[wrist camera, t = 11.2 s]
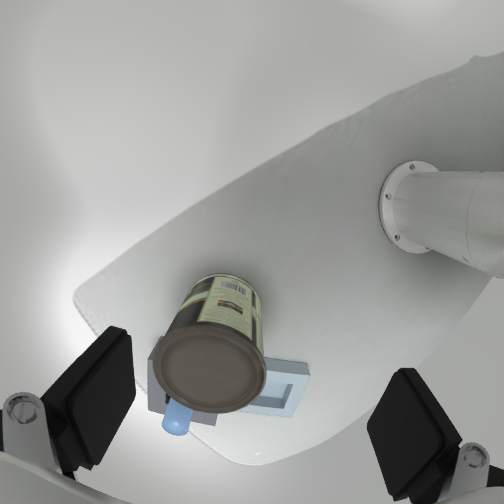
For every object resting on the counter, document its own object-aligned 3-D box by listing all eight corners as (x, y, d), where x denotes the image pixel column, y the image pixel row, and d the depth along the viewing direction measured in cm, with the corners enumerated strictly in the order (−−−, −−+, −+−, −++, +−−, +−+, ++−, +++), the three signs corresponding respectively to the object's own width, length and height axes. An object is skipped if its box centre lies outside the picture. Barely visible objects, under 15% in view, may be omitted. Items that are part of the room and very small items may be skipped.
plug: (203, 365, 38) (188, 422, 27) (200, 380, 39) (187, 437, 28) (182, 360, 38) (161, 416, 27) (180, 376, 39) (161, 431, 27)
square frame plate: (306, 363, 38) (310, 375, 35) (290, 405, 40) (292, 417, 37) (246, 354, 38) (245, 366, 35) (235, 398, 40) (234, 411, 37)
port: (229, 351, 38) (225, 377, 32) (219, 399, 40) (215, 426, 34) (160, 336, 37) (147, 359, 32) (158, 386, 40) (148, 410, 34)
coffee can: (191, 344, 38) (166, 412, 24) (179, 275, 35) (140, 326, 22) (264, 341, 37) (268, 413, 24) (259, 270, 35) (263, 323, 21)
